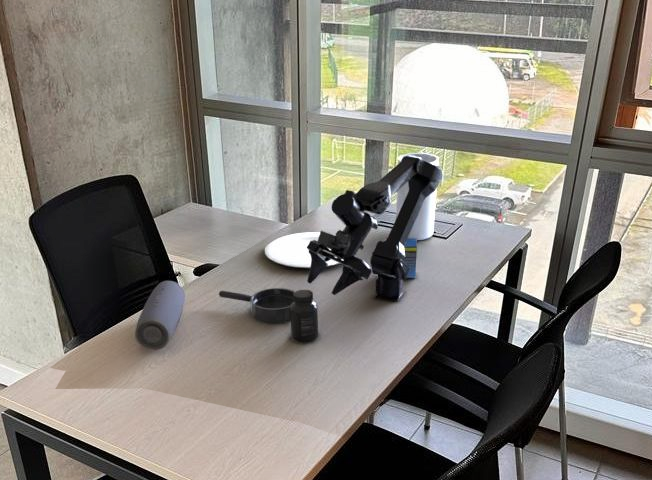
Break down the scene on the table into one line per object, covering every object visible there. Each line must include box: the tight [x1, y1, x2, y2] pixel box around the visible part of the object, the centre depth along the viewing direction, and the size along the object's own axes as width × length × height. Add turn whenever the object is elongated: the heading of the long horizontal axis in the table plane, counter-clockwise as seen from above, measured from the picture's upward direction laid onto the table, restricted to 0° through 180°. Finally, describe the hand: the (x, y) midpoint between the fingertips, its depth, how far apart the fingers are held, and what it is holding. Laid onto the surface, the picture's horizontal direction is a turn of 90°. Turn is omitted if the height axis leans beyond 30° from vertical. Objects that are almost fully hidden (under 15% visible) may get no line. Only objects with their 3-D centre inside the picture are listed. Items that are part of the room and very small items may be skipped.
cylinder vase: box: [395, 152, 440, 241], centre depth 232 cm, size 12×12×25 cm
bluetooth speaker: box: [134, 280, 186, 351], centre depth 182 cm, size 23×9×10 cm, turn 178°
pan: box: [249, 287, 296, 324], centre depth 191 cm, size 13×13×4 cm
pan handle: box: [218, 290, 254, 303], centre depth 195 cm, size 11×2×2 cm, turn 67°
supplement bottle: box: [290, 289, 319, 344], centre depth 177 cm, size 7×7×12 cm
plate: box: [264, 231, 343, 269], centre depth 226 cm, size 29×29×2 cm
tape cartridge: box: [404, 238, 418, 279], centre depth 207 cm, size 9×4×12 cm, turn 84°
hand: (320, 288), depth 177 cm, fingers open, 9 cm apart
